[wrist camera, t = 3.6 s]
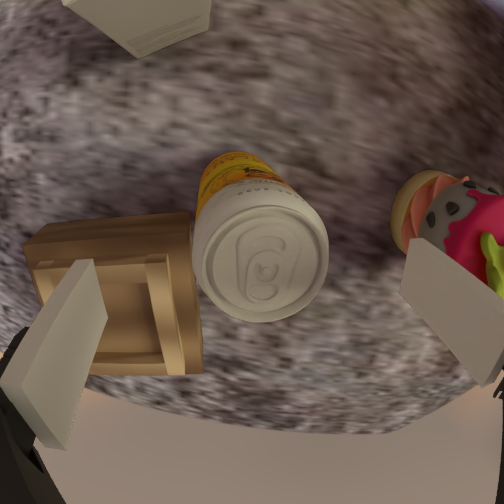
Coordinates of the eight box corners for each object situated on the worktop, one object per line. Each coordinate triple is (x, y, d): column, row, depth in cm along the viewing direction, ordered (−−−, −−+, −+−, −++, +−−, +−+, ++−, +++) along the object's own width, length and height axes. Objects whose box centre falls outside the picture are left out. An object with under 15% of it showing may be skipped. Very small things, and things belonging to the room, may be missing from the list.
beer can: (275, 153, 26) (350, 203, 12) (267, 222, 28) (322, 328, 15) (202, 148, 25) (192, 191, 11) (198, 218, 27) (191, 329, 14)
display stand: (46, 224, 25) (13, 253, 19) (189, 211, 27) (184, 240, 21) (81, 342, 31) (65, 382, 25) (202, 339, 33) (203, 385, 27)
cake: (434, 145, 27) (553, 185, 13) (471, 213, 31) (564, 271, 17) (368, 216, 29) (469, 299, 16) (415, 276, 33) (496, 358, 20)
